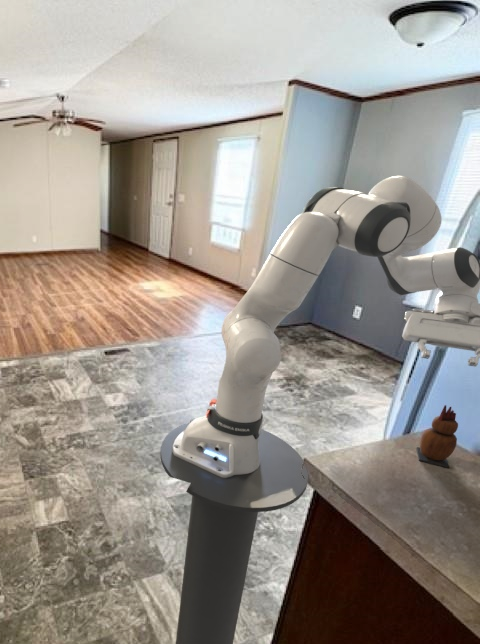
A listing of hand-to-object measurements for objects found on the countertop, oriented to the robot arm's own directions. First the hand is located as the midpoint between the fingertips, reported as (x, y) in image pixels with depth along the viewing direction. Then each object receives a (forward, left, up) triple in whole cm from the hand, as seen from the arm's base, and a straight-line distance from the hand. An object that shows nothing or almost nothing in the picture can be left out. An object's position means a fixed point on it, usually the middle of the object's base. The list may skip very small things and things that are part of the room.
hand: (448, 361), depth 105 cm
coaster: (+2, -8, -24) cm, 25 cm away
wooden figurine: (+2, -8, -23) cm, 25 cm away
